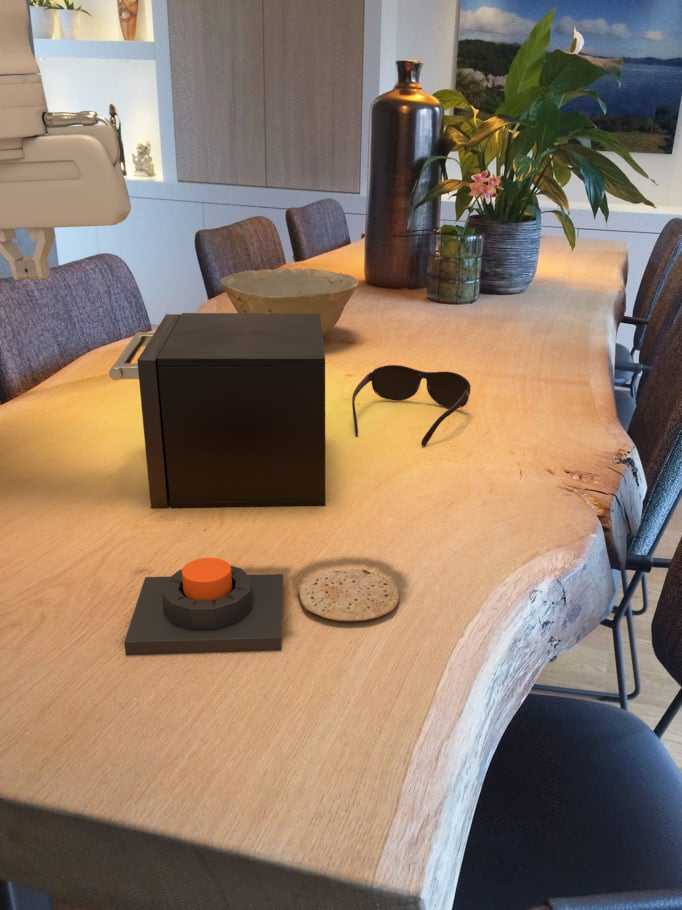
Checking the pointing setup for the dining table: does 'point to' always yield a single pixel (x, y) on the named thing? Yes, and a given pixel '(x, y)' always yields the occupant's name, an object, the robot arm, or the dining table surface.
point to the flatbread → (349, 595)
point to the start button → (207, 579)
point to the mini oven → (244, 410)
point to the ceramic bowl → (291, 292)
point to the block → (207, 617)
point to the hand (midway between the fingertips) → (32, 278)
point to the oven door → (149, 401)
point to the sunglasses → (405, 384)
